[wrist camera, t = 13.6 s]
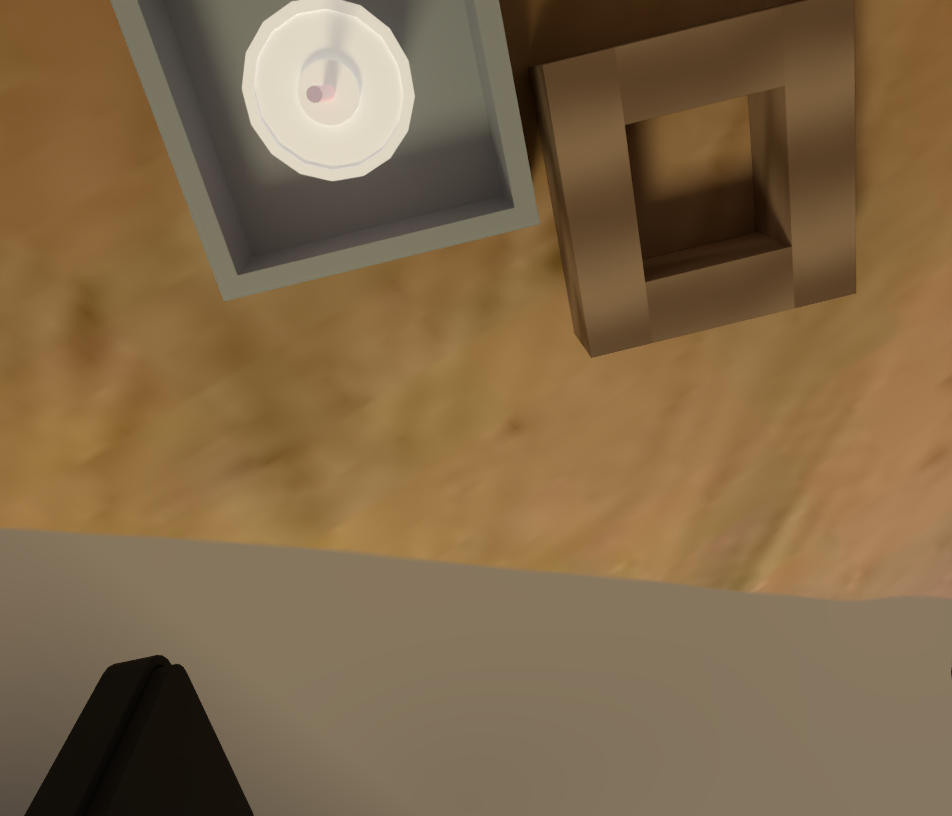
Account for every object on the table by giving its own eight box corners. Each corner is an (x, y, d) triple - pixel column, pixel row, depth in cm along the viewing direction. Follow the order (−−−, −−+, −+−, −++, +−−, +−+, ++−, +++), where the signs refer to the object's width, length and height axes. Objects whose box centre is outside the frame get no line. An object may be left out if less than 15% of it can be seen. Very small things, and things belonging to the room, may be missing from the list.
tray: (523, 207, 39) (540, 224, 34) (244, 275, 39) (224, 301, 34) (458, -134, 33) (467, -168, 28) (126, -52, 33) (82, -74, 28)
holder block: (816, 274, 42) (856, 293, 38) (574, 333, 42) (591, 357, 38) (808, -2, 36) (854, -12, 32) (527, 66, 36) (542, 65, 32)
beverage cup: (411, 161, 36) (416, 203, 24) (283, 157, 36) (217, 197, 23) (412, 21, 34) (418, -18, 21) (275, 13, 33) (196, -31, 21)
